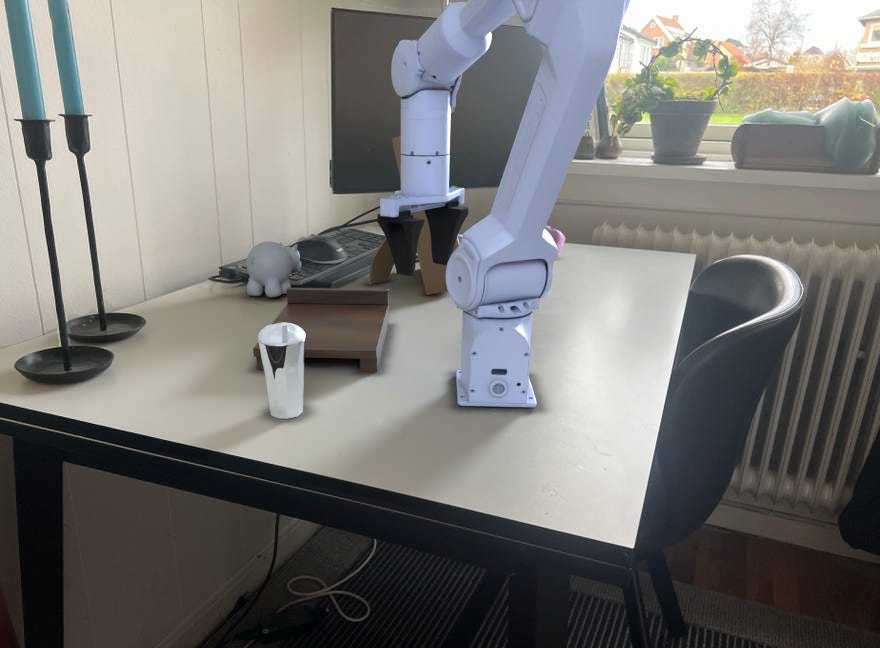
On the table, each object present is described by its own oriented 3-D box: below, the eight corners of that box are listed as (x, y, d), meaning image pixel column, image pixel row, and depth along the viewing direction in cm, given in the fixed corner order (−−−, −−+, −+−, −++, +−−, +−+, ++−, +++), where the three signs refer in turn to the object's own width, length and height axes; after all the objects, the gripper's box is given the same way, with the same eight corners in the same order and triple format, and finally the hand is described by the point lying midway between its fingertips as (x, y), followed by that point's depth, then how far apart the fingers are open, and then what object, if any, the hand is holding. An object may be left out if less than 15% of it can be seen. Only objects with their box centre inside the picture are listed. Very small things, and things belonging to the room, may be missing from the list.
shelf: (376, 375, 80) (376, 333, 79) (254, 373, 81) (251, 331, 79) (388, 323, 99) (388, 288, 97) (289, 322, 100) (287, 287, 98)
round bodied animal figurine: (319, 285, 119) (317, 235, 116) (275, 302, 109) (272, 247, 106) (284, 281, 122) (281, 232, 120) (239, 297, 112) (234, 243, 110)
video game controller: (561, 264, 142) (569, 231, 143) (555, 257, 138) (563, 223, 139) (516, 258, 147) (524, 226, 148) (508, 252, 143) (516, 219, 144)
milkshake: (266, 427, 67) (259, 327, 64) (261, 405, 72) (254, 311, 69) (313, 422, 68) (309, 323, 65) (305, 401, 73) (301, 308, 70)
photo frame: (463, 266, 133) (467, 127, 125) (452, 296, 113) (457, 131, 104) (385, 264, 135) (384, 126, 127) (362, 292, 115) (359, 131, 107)
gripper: (432, 150, 90) (431, 255, 95) (358, 156, 79) (360, 275, 84) (480, 152, 86) (476, 262, 91) (408, 159, 75) (408, 283, 80)
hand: (423, 269), depth 87 cm, fingers open, 7 cm apart
